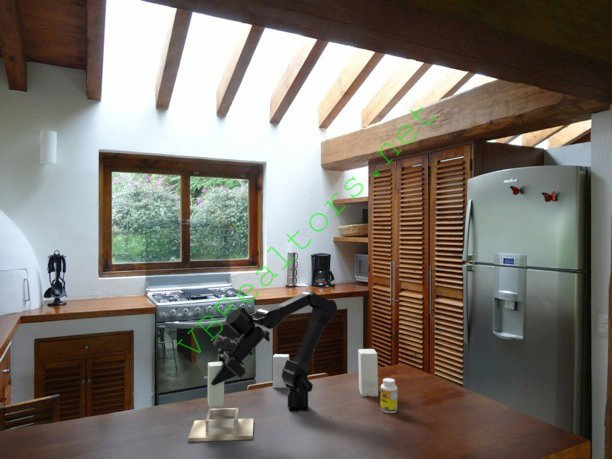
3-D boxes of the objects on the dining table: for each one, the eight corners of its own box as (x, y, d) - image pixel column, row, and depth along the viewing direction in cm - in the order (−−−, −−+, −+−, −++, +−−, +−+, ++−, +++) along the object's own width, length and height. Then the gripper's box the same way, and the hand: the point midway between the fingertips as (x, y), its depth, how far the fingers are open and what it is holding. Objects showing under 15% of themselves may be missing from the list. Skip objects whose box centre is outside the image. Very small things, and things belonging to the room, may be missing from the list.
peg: (221, 400, 134) (222, 361, 134) (224, 405, 130) (224, 365, 130) (207, 401, 132) (207, 362, 133) (209, 406, 128) (209, 366, 129)
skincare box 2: (378, 397, 156) (378, 354, 157) (360, 396, 156) (360, 353, 157) (374, 389, 165) (375, 348, 165) (357, 389, 165) (357, 348, 165)
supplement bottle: (377, 408, 145) (377, 378, 146) (391, 406, 148) (391, 376, 148) (386, 414, 140) (386, 383, 141) (400, 412, 142) (400, 381, 143)
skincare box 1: (289, 384, 169) (289, 354, 169) (287, 388, 165) (288, 357, 165) (274, 384, 170) (274, 353, 170) (272, 387, 165) (272, 356, 166)
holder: (253, 421, 134) (253, 405, 134) (252, 439, 122) (252, 421, 123) (194, 423, 133) (194, 407, 133) (188, 441, 121) (188, 423, 121)
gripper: (224, 320, 142) (189, 357, 138) (234, 331, 124) (194, 374, 120) (247, 342, 144) (214, 379, 140) (260, 356, 127) (223, 399, 123)
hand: (211, 382), depth 131 cm, fingers closed on peg, 4 cm apart
